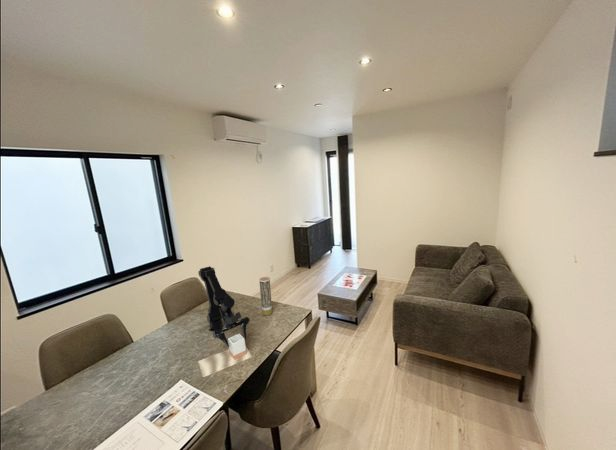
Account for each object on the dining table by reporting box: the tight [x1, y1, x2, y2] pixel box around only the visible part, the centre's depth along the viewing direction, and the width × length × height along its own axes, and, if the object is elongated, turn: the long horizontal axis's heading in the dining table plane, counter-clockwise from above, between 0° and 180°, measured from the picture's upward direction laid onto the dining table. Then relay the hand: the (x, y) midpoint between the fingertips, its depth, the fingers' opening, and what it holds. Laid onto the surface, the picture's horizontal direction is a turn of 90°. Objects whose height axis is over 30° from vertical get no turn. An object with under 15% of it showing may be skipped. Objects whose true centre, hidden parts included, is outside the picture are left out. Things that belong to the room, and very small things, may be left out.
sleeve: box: [227, 333, 246, 360], centre depth 132 cm, size 6×6×9 cm
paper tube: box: [259, 276, 273, 316], centre depth 171 cm, size 7×7×25 cm
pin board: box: [198, 345, 253, 378], centre depth 129 cm, size 24×13×4 cm, turn 122°
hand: (237, 342), depth 130 cm, fingers open, 9 cm apart
